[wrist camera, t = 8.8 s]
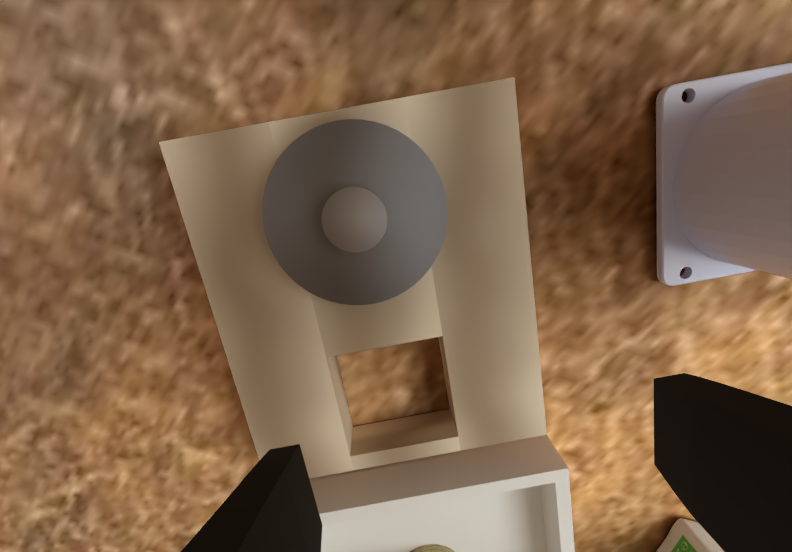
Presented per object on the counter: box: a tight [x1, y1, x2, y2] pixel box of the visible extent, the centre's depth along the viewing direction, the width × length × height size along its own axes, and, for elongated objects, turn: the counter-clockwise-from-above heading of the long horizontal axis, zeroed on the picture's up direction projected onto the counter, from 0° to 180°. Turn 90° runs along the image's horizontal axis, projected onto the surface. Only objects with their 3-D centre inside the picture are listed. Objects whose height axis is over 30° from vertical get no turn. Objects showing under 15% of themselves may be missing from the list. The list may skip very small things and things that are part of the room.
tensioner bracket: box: [159, 77, 547, 478], centre depth 15 cm, size 12×14×4 cm
